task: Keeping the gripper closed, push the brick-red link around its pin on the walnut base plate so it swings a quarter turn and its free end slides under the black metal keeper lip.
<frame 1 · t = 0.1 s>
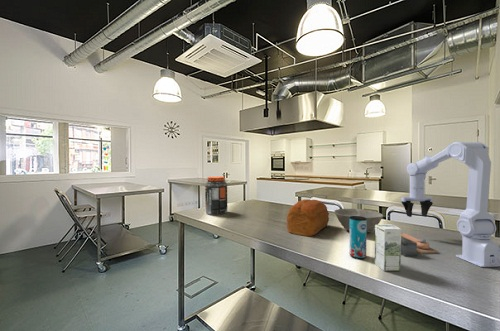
hand: (416, 216, 113), 10 cm above the table, tool pointing down, fingers open, 7 cm apart
link: (413, 239, 101), point 3 cm above the table, hinge at 0.0°
keeper: (404, 252, 93), on the table
supplement tub: (216, 213, 167), on the table
bread: (308, 229, 127), on the table
pintle plate: (422, 250, 96), on the table
beverage can: (357, 257, 90), on the table
milk carton: (387, 268, 80), on the table
ceramic bowl: (357, 231, 122), on the table
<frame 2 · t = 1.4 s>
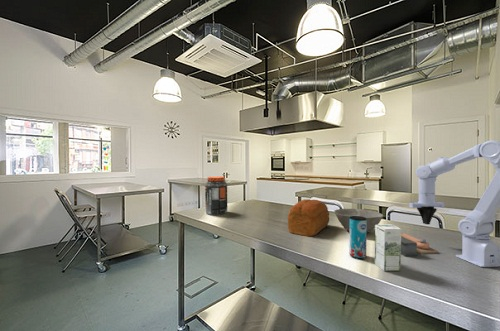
hand: (426, 223, 102), 9 cm above the table, tool pointing down, fingers closed
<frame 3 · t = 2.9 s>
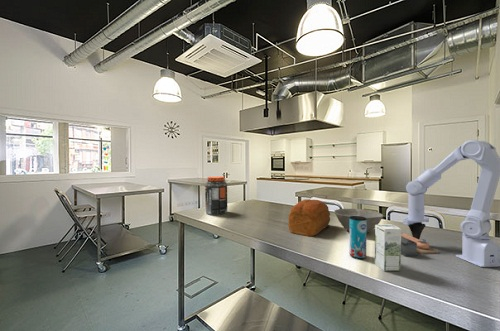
hand: (416, 239, 102), 2 cm above the table, tool pointing down, fingers closed, pressing on link
link: (413, 239, 101), point 3 cm above the table, hinge at 0.4°, touching gripper
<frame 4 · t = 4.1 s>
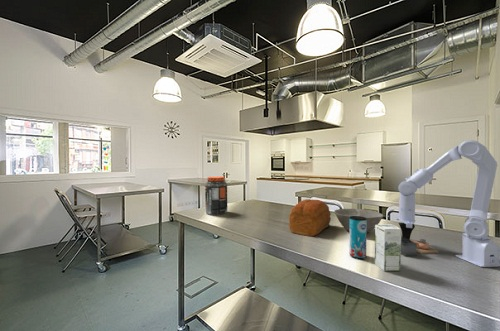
hand: (406, 240, 101), 2 cm above the table, tool pointing down, fingers closed, pressing on link
link: (408, 241, 99), point 3 cm above the table, hinge at 49.6°, touching gripper
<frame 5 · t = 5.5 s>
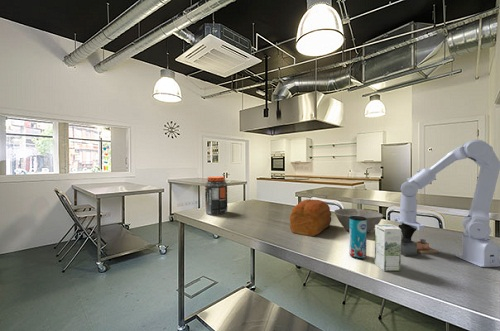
hand: (407, 242, 98), 3 cm above the table, tool pointing down, fingers closed, pressing on link
link: (410, 243, 96), point 3 cm above the table, hinge at 86.3°, touching gripper
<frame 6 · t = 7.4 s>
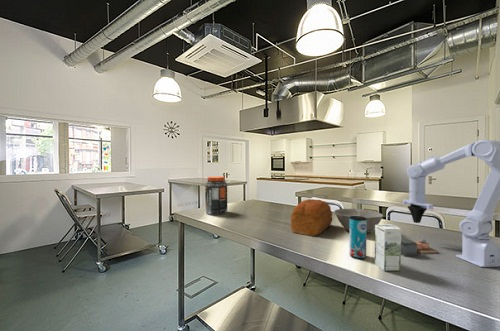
hand: (416, 222, 104), 9 cm above the table, tool pointing down, fingers closed
link: (410, 243, 96), point 3 cm above the table, hinge at 86.6°
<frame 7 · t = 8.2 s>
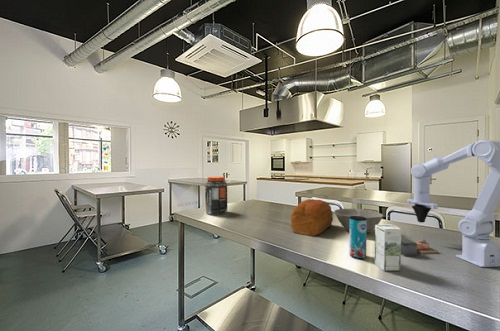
hand: (421, 222, 104), 9 cm above the table, tool pointing down, fingers closed
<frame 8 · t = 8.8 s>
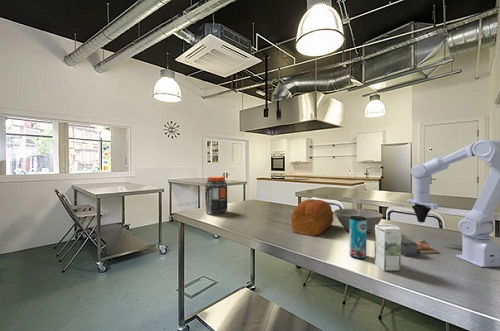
hand: (421, 222, 104), 9 cm above the table, tool pointing down, fingers closed
at the end: link at +87° (first picture: +0°) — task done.
